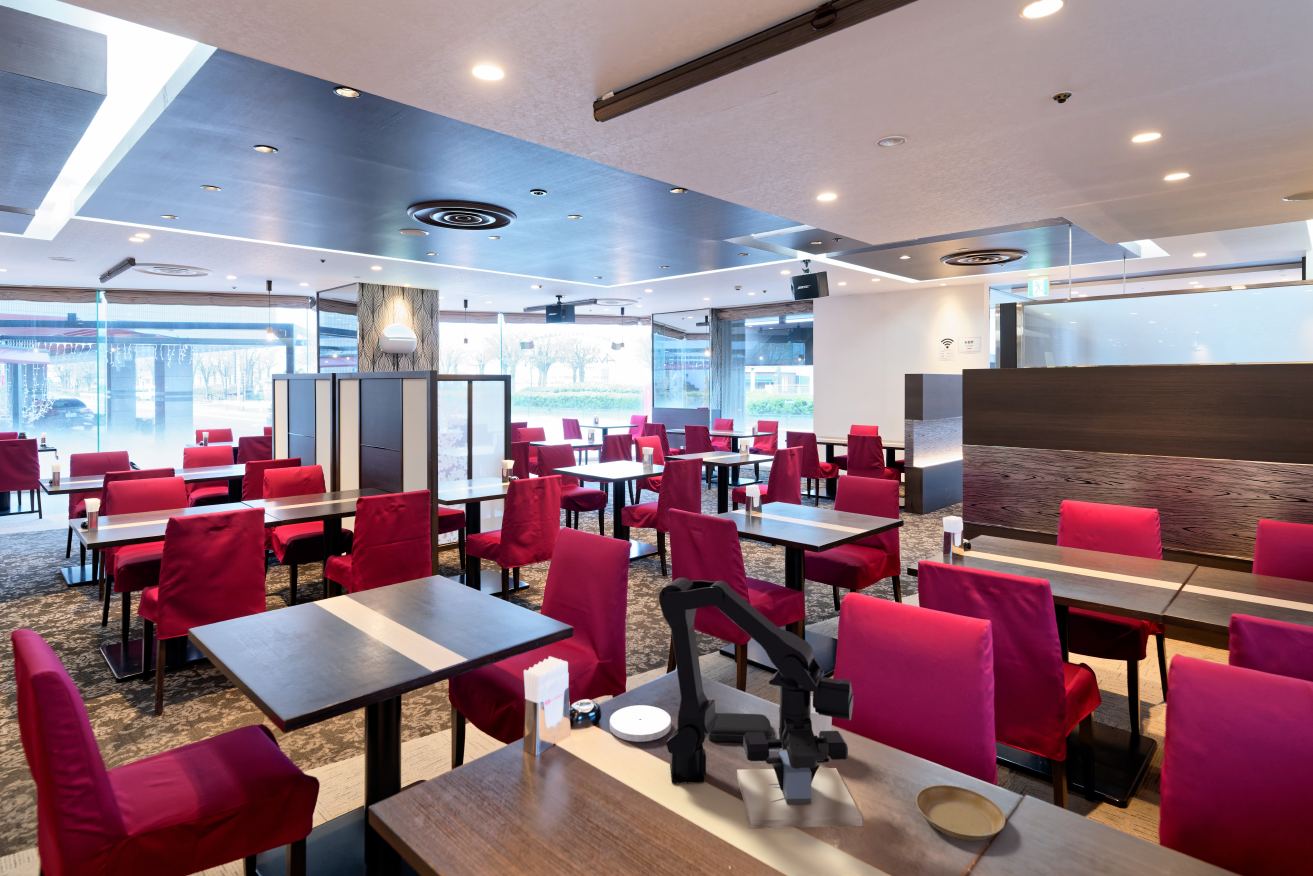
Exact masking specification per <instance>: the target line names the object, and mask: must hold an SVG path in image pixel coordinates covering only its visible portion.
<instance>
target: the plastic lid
mask: <svg viewBox="0 0 1313 876" xmlns="http://www.w3.org/2000/svg"><path fill="white" fill-rule="evenodd" d="M671 728H672V718H671V716H670V714H669V713H668V712H667V711H665V710H664V709H661V708H659V707H657V706H656V707H655V706H653V705H651V706H650V705H639V704H638V705H637V704H636V705H630V706H626V707H623V708H620V709H617V710H616V711H614V712H613V713H612V714H611V716H610V717H609V730H610V732H611V733H612V734H613V735H614V736H616V738H618V739H619V738H620V740H621V739H622V740H625V741H628V742H629V741H630V742H636V743H637V742H638V743H641V742H651V741H654V740H658V739H661V738H663V737H664V736H666V735H667V734H668V733H669V732H670V730H671Z"/></svg>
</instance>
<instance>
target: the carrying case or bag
mask: <svg viewBox="0 0 1313 876" xmlns="http://www.w3.org/2000/svg"><path fill="white" fill-rule="evenodd" d="M716 715H717V716H718V719H717V720H716V722H715V726H714V728H713V729H712V731H711V732H710V734H709V735H708V737H707V738H709V739H710V740H711V741H713V740H714V741H713V742H727V741H732V742H733V743H736V742H737V743H743V737H744V735H745V734H746V732H764V734H765V737H766V739H767V740H768V739H773V737H774V735H773V734H774V733H773V730H772V726H771V725H772V724H771V721H770V720H769V719H768V717H767V716H766V715H765V714H761V713H759V714H758V713H740V712H739V713H736V712H735V713H733V712H727V713H726V712H716ZM732 742H731V743H732Z"/></svg>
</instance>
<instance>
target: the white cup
mask: <svg viewBox="0 0 1313 876" xmlns="http://www.w3.org/2000/svg"><path fill="white" fill-rule="evenodd" d="M832 720H833V717H830V716H824V715H819V714H818V713H816V712H815V708H813V695H811V721H812V731H813V734H814V736H818V737H819V733H820V731H832V722H833V721H832Z"/></svg>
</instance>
